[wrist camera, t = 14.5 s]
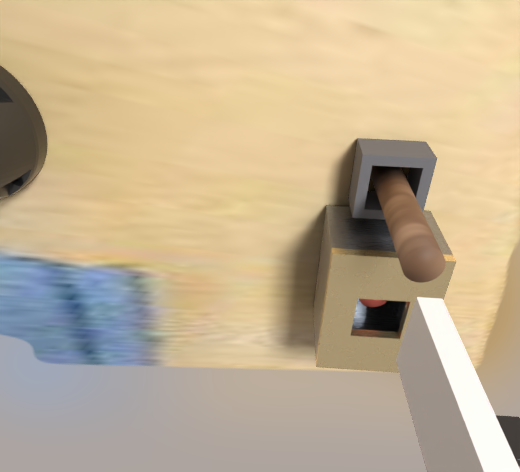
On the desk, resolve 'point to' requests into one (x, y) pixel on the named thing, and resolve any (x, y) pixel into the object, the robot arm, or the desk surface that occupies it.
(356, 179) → the holder
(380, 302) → the pink rubber ball
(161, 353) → the desk surface
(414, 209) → the brown rounded rod
